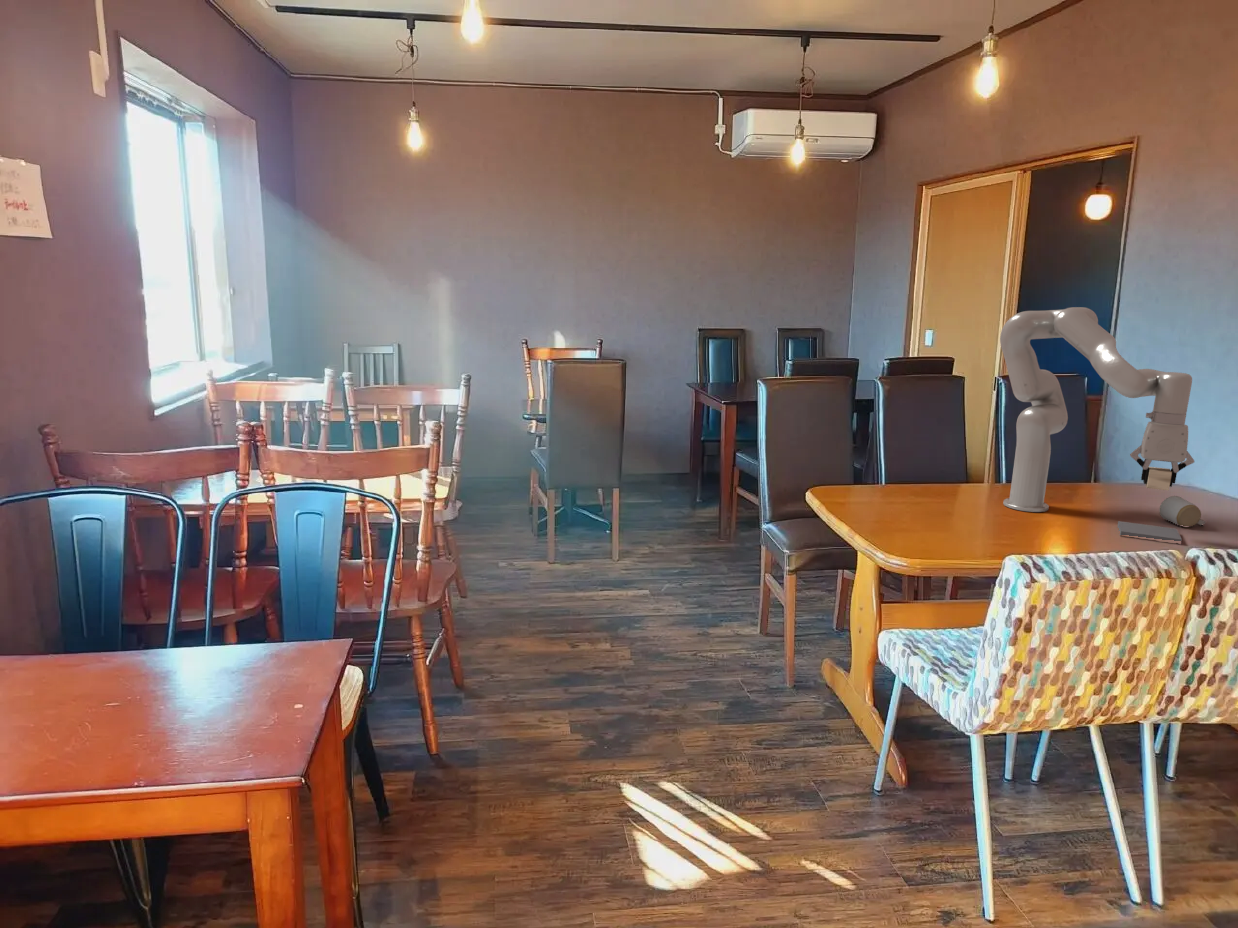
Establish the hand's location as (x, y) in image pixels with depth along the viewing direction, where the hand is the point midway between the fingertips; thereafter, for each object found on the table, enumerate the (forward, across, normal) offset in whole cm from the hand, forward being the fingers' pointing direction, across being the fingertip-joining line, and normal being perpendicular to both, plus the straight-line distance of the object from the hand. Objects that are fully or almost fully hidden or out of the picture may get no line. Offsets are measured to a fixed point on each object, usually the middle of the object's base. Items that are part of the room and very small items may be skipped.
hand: (1157, 483), depth 221 cm
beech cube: (+1, 0, 0) cm, 1 cm away
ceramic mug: (+15, +10, +18) cm, 26 cm away
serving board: (+15, 0, 0) cm, 15 cm away
